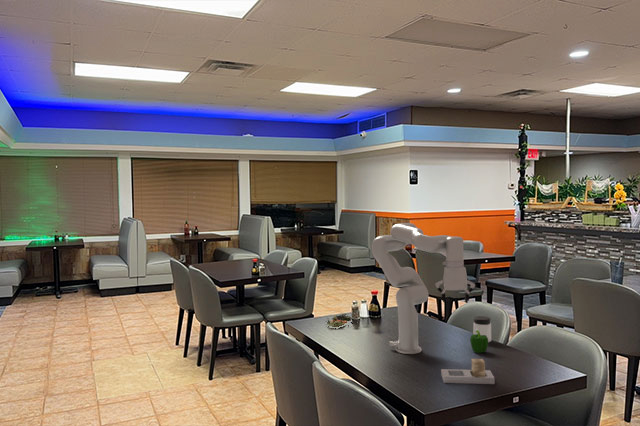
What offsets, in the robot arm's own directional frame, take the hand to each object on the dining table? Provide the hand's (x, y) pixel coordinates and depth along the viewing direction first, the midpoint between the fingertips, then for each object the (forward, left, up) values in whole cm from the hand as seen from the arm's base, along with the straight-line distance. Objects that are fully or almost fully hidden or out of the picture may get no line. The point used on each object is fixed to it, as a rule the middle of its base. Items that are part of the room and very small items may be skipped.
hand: (455, 302), depth 226 cm
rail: (+2, -18, -28) cm, 34 cm away
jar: (+19, +39, -28) cm, 52 cm away
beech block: (+7, -18, -28) cm, 34 cm away
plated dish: (-56, +69, -29) cm, 94 cm away
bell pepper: (+14, +20, -28) cm, 38 cm away
